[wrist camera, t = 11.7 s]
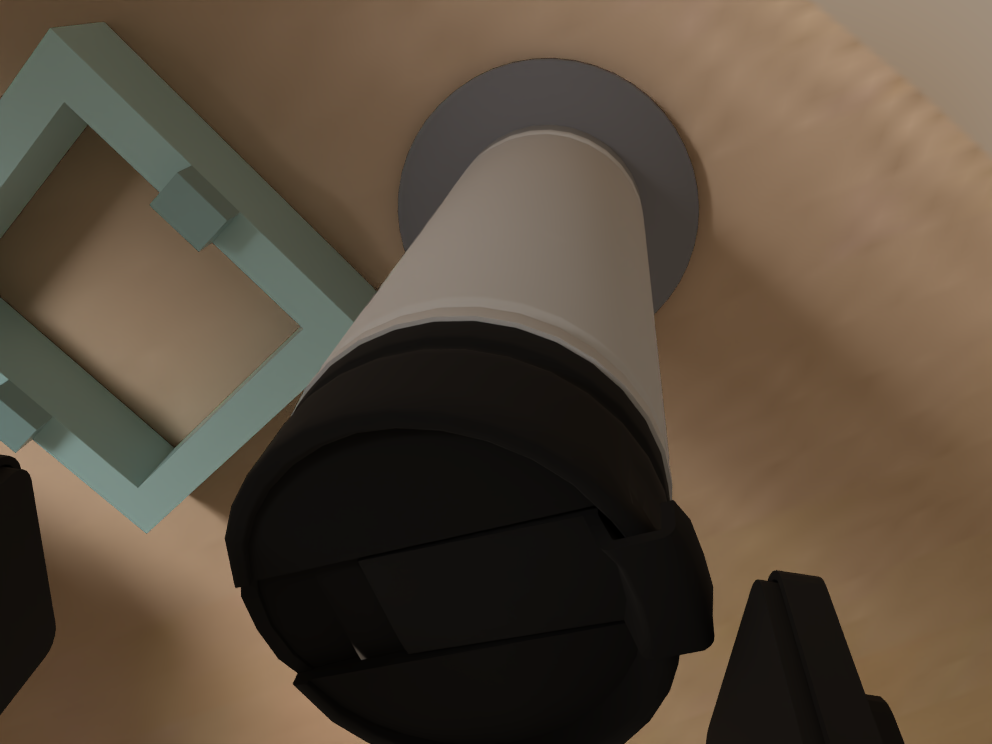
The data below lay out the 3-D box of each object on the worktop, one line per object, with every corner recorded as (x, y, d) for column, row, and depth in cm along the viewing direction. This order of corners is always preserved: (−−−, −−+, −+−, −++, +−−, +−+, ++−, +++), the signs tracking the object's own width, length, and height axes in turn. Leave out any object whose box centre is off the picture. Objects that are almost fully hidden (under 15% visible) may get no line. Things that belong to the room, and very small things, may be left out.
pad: (343, 203, 30) (338, 208, 29) (556, -15, 26) (555, -14, 26) (538, 399, 32) (536, 406, 32) (760, 225, 28) (762, 230, 28)
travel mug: (676, 273, 29) (774, 781, 11) (493, 329, 31) (318, 848, 13) (619, 90, 27) (627, 351, 9) (426, 161, 28) (97, 503, 10)
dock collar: (-78, 270, 33) (-162, 307, 30) (103, 21, 28) (28, 30, 25) (181, 491, 36) (133, 549, 33) (386, 301, 31) (356, 345, 28)
